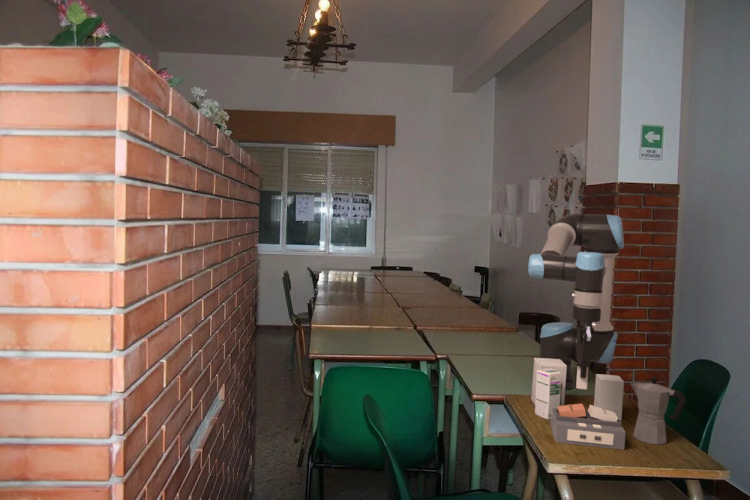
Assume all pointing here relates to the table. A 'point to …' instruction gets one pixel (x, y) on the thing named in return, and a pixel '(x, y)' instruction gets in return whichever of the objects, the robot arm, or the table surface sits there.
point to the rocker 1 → (572, 410)
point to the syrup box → (548, 391)
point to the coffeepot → (654, 411)
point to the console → (587, 431)
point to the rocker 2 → (602, 413)
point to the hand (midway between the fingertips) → (581, 388)
